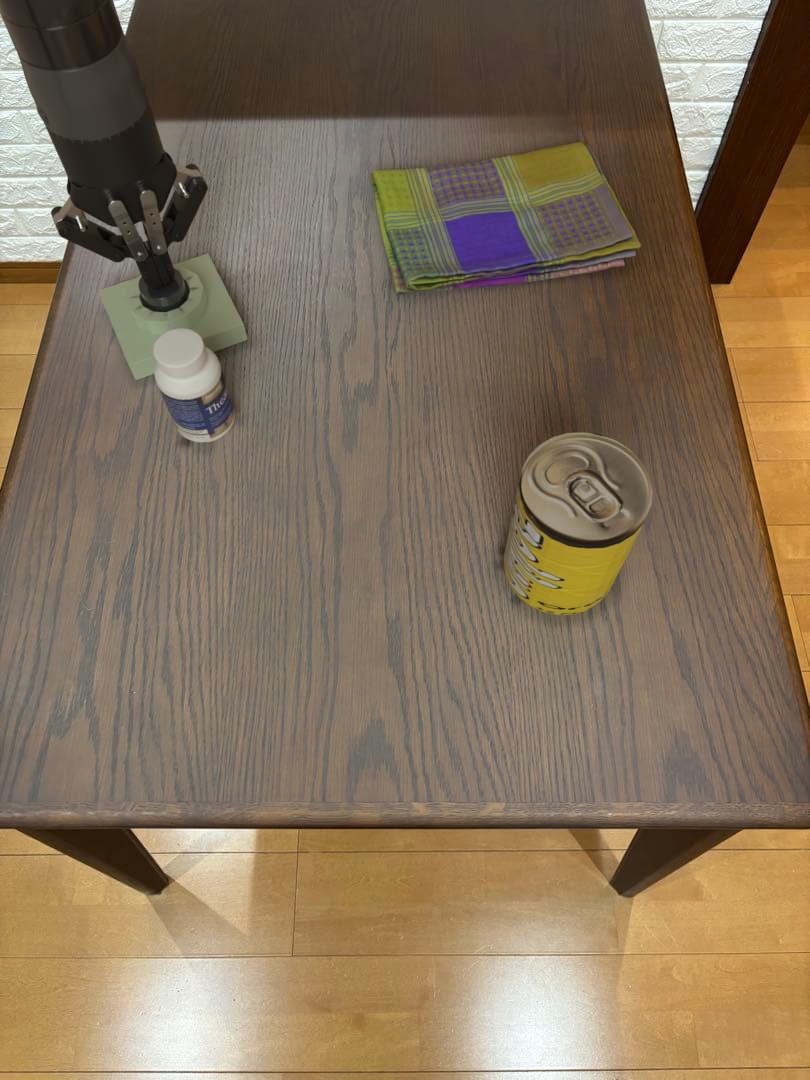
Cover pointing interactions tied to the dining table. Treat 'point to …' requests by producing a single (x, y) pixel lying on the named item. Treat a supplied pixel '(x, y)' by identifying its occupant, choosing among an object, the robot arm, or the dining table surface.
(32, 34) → the robot arm
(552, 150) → the dish towel
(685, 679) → the dining table surface
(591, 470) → the beverage can
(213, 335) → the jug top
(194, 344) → the pill bottle
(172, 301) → the lid button
